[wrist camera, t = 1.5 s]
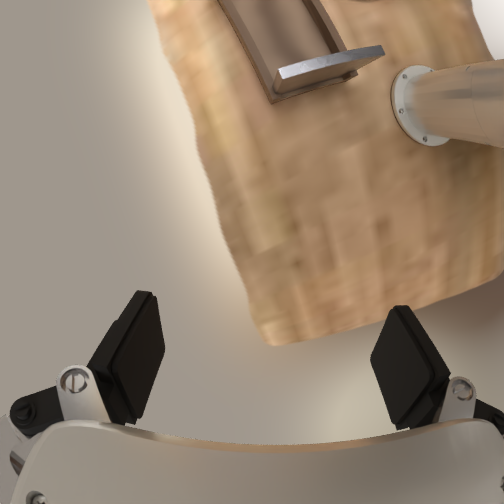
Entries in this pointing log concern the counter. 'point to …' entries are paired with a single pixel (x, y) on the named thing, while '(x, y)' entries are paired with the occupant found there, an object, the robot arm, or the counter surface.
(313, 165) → the counter surface
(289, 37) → the book ledge
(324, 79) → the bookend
